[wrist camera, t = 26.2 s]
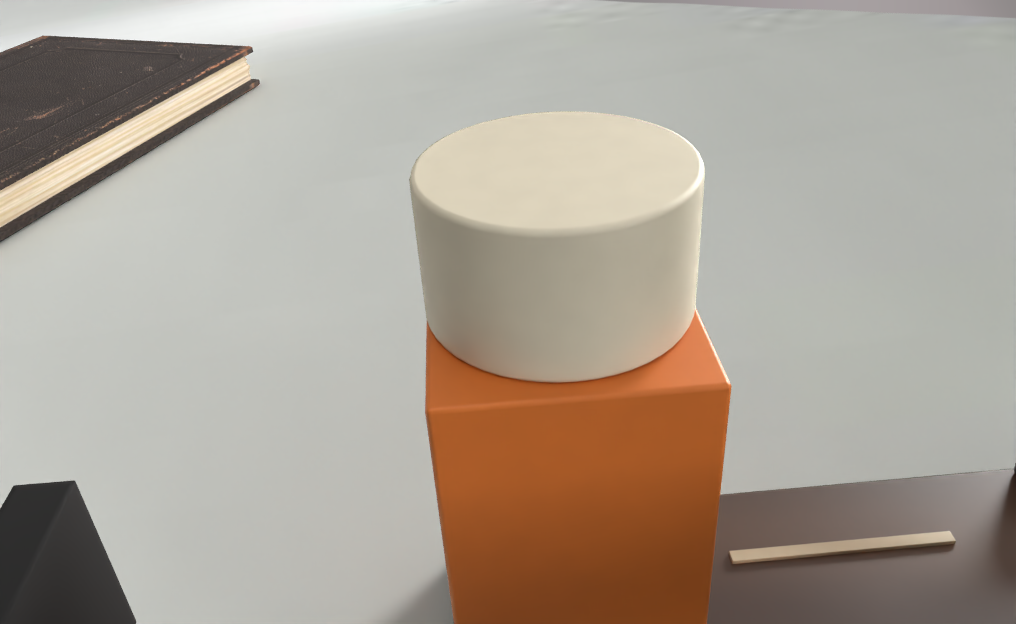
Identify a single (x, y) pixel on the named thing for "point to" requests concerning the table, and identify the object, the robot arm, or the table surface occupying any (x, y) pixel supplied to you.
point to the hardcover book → (99, 111)
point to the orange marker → (570, 370)
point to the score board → (869, 553)
